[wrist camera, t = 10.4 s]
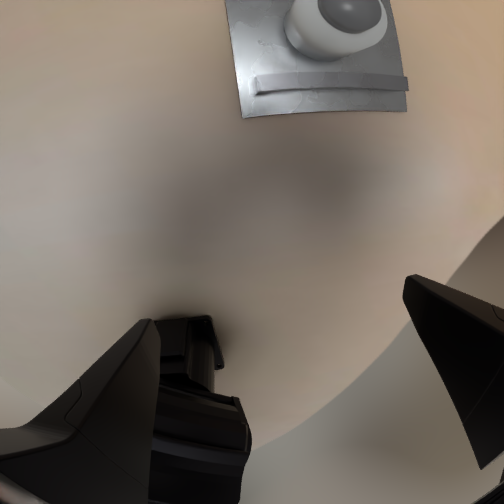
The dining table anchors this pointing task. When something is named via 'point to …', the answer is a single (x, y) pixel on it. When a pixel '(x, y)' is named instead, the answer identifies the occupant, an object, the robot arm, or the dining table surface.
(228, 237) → the dining table surface
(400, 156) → the dining table surface
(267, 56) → the cradle
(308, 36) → the grey capped cylinder
